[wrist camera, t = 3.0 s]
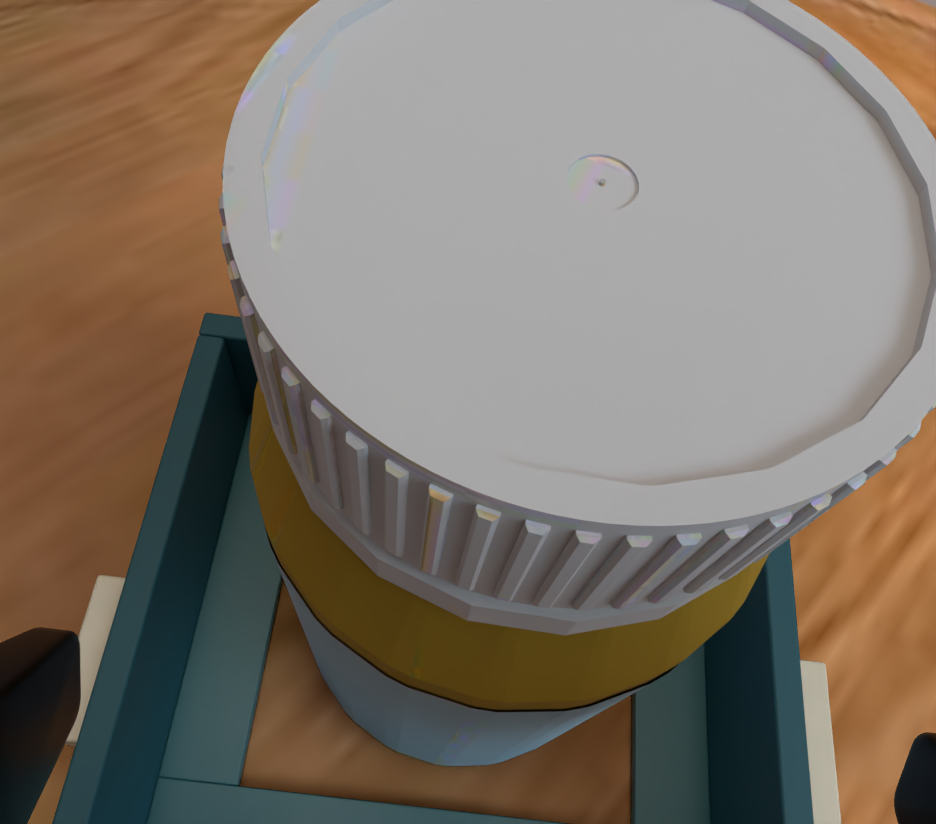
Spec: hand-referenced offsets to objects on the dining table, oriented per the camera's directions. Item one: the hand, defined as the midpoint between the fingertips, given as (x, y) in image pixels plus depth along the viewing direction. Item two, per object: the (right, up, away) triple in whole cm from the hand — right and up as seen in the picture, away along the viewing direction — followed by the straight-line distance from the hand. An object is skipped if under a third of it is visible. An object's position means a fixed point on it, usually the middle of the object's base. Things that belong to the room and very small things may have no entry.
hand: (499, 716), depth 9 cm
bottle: (-1, -2, +11) cm, 12 cm away
